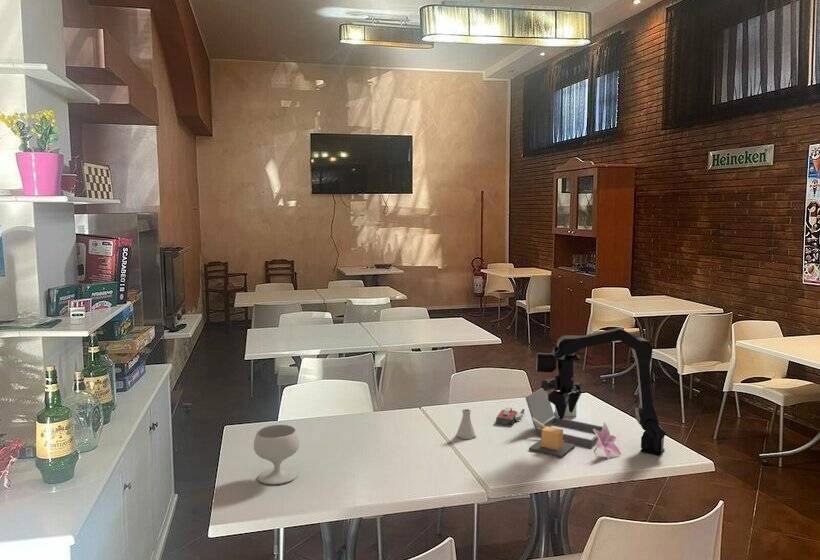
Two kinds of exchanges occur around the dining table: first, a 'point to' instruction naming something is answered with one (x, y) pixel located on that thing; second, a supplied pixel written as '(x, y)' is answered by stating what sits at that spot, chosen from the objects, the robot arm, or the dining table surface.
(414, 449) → the dining table surface
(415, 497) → the dining table surface
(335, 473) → the dining table surface
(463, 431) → the flask
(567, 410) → the small box
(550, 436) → the block
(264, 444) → the chalice
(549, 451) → the rubber mat
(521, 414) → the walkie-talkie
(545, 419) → the case
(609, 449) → the lily
